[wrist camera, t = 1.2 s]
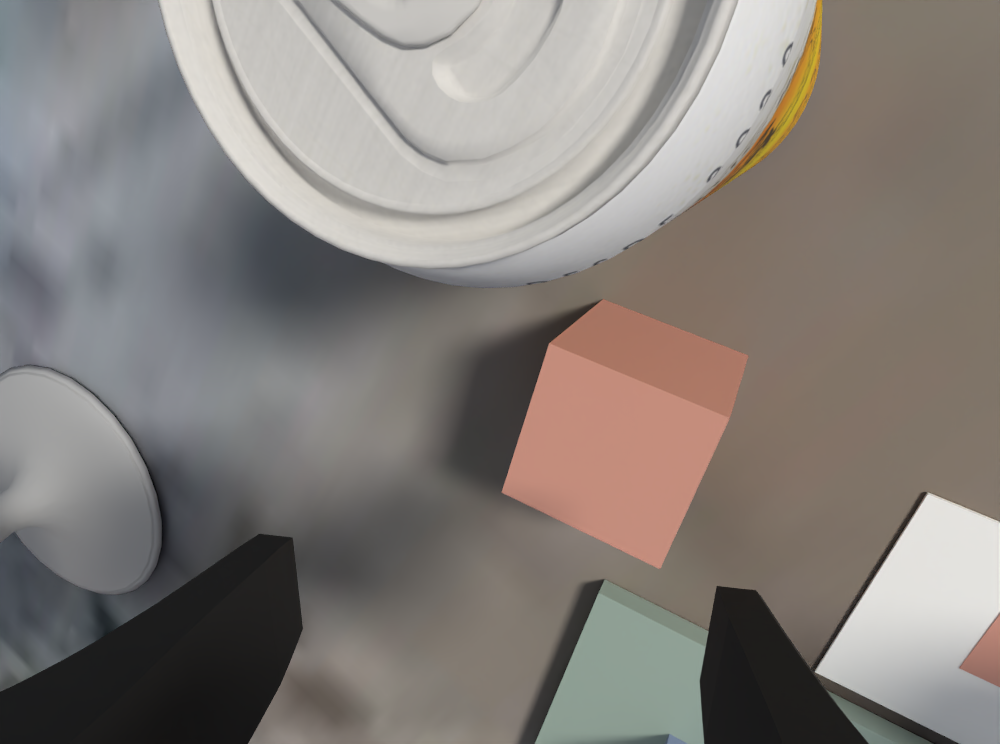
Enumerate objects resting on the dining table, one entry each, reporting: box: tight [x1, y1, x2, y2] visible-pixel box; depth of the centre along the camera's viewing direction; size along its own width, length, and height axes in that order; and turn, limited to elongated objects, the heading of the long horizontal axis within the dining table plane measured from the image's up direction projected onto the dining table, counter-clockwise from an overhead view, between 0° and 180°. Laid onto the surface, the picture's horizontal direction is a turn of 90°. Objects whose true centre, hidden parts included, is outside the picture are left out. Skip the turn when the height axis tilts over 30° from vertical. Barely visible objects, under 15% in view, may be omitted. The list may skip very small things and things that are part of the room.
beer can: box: [158, 0, 822, 288], centre depth 12 cm, size 6×6×15 cm
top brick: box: [502, 299, 748, 569], centre depth 20 cm, size 4×4×5 cm
